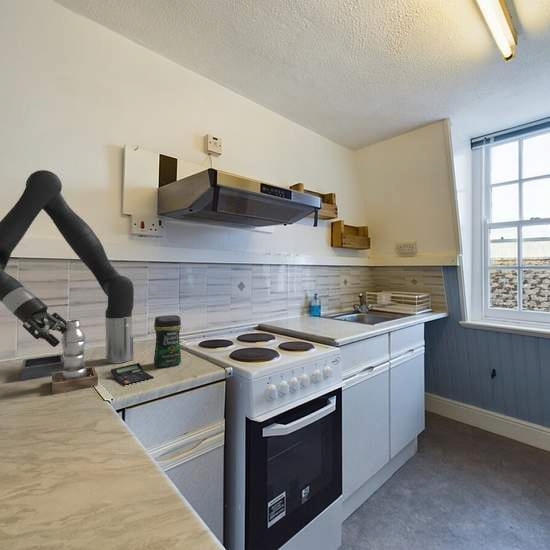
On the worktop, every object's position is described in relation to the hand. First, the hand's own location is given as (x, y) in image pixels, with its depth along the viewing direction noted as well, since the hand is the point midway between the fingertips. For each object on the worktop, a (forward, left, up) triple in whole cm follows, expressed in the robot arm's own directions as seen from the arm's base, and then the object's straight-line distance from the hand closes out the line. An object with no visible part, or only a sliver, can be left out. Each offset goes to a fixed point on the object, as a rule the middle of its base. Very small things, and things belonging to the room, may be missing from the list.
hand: (65, 341), depth 99 cm
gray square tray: (+6, -17, -14) cm, 23 cm away
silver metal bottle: (-2, +1, -14) cm, 14 cm away
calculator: (-18, +6, -14) cm, 24 cm away
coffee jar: (-32, -1, -14) cm, 35 cm away
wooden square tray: (-2, +1, -14) cm, 14 cm away
